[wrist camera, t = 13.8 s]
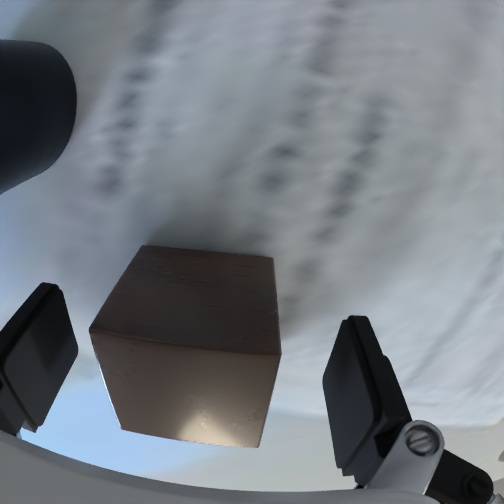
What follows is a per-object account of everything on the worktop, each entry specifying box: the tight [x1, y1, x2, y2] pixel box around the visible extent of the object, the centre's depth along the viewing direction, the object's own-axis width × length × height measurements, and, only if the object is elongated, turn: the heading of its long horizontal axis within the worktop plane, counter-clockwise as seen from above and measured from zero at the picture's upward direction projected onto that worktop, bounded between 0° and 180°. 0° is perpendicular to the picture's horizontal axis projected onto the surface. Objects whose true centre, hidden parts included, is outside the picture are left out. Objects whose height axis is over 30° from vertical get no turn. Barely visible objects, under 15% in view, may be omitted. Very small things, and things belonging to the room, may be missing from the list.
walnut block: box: [89, 245, 282, 448], centre depth 10 cm, size 4×4×4 cm
